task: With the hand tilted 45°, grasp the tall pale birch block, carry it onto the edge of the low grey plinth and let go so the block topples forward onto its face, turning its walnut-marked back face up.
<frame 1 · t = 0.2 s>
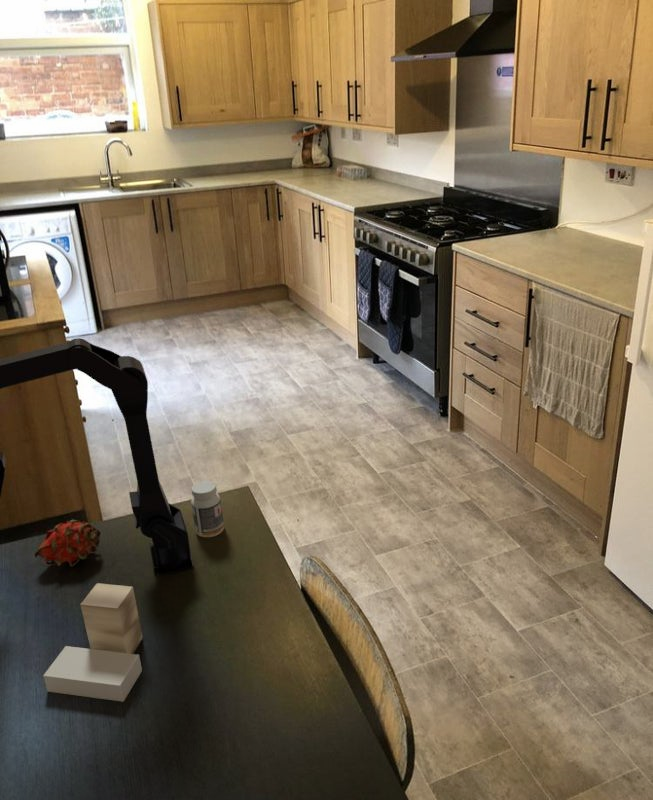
grey plinth: (95, 680, 103), on the table
birch block: (117, 647, 109), on the table
dragon fruit: (72, 561, 131), on the table
pill bottle: (210, 531, 138), on the table
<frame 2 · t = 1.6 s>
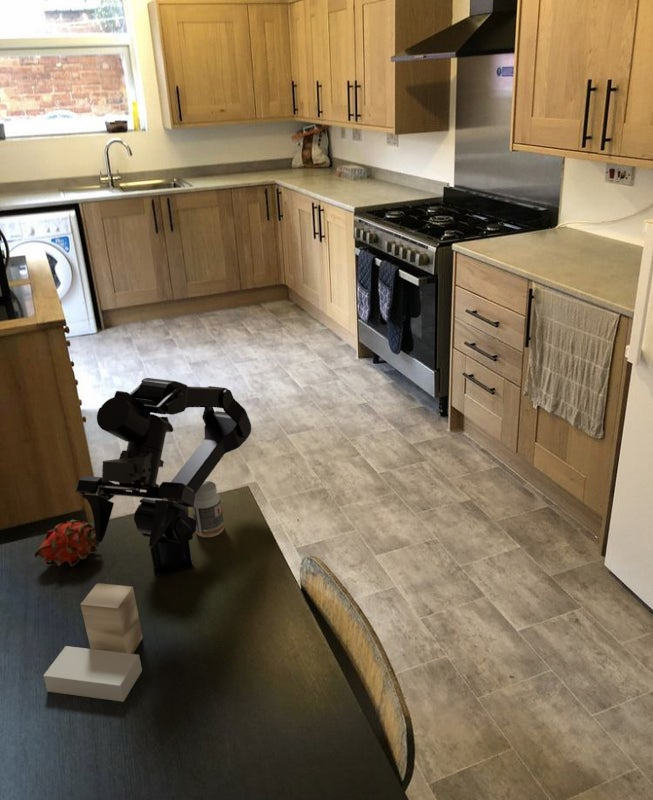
hand: (124, 544, 111), 13 cm above the table, tool tilted 45°, fingers open, 9 cm apart
nothing on the table moved.
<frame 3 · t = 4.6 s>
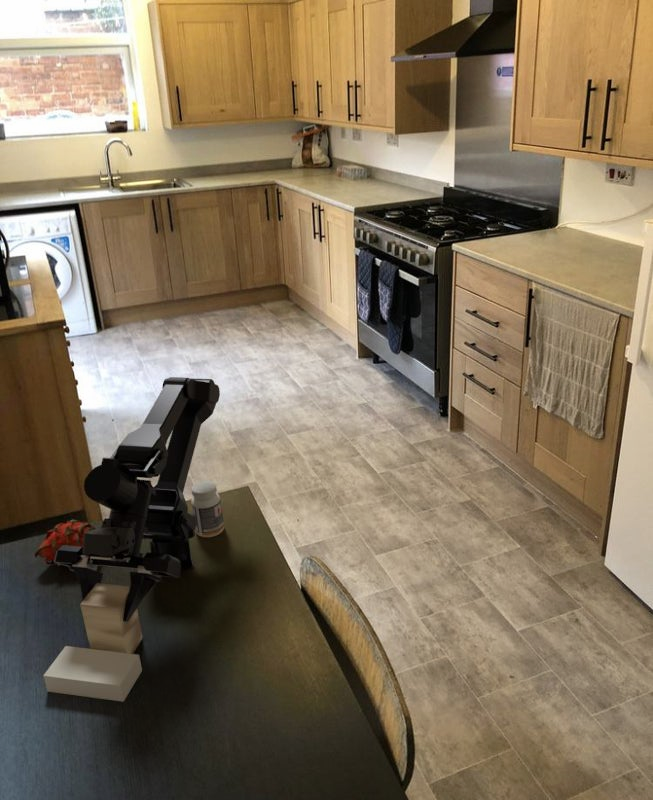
hand: (106, 619, 105), 7 cm above the table, tool tilted 45°, fingers closed on birch block, 6 cm apart
birch block: (117, 647, 109), on the table, touching gripper
everything else where it was.
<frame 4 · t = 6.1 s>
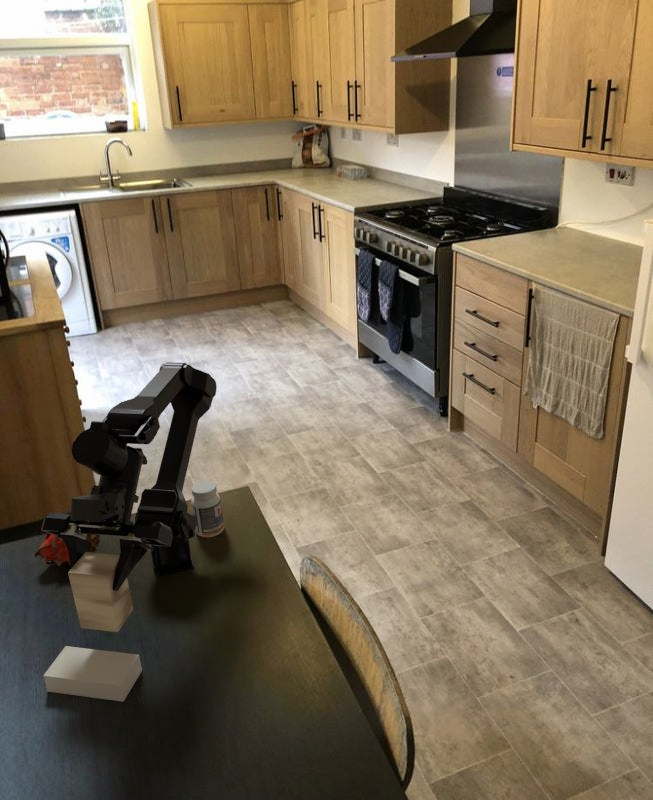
hand: (94, 588, 102), 13 cm above the table, tool tilted 45°, fingers closed on birch block, 6 cm apart
birch block: (107, 618, 106), point 6 cm above the table, touching gripper
everything else where it was.
when the fingers open (11 cm above the table, at t = 7.8 s): birch block drops 2 cm and tips over, point 2 cm above the table.
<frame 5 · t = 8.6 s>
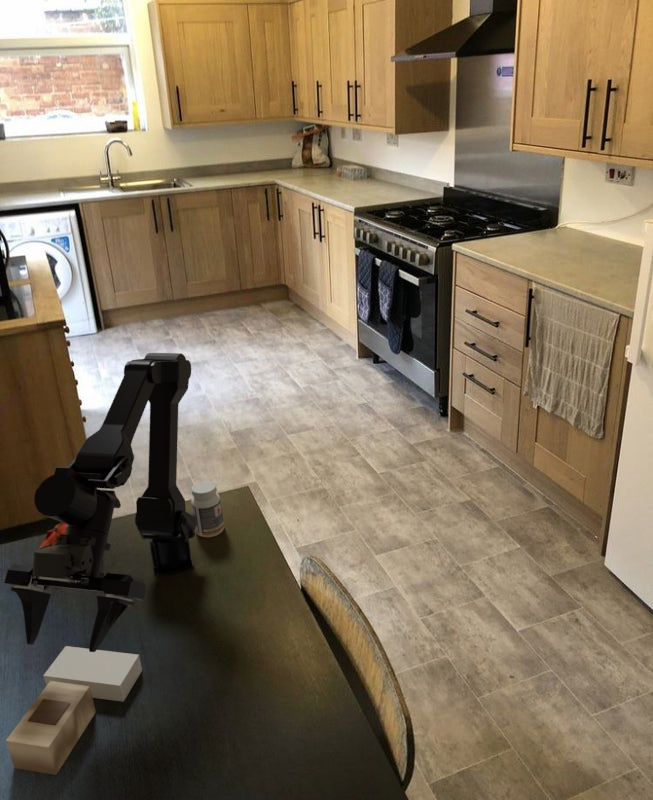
hand: (60, 648, 94), 11 cm above the table, tool tilted 45°, fingers open, 9 cm apart
birch block: (73, 697, 97), point 2 cm above the table, tilted 90°
everything else where it was.
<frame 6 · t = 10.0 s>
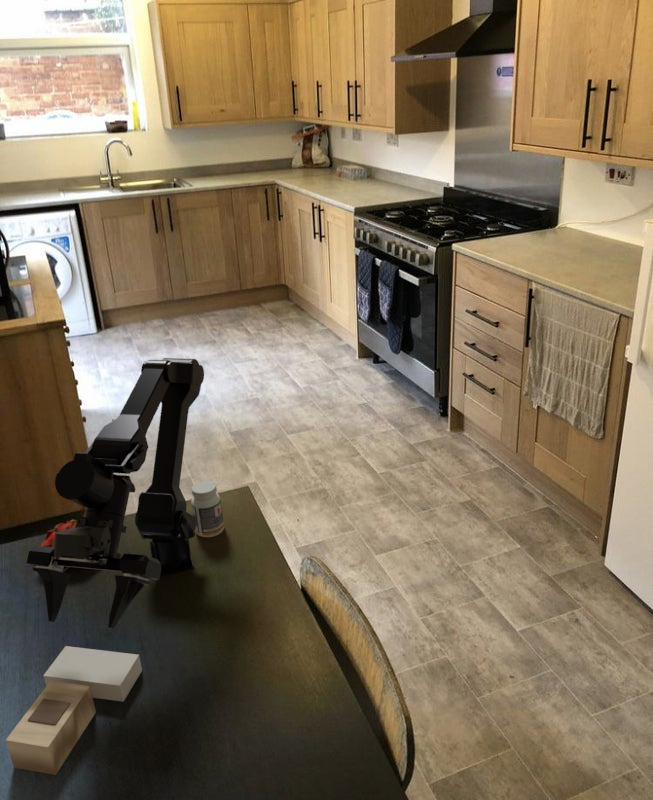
hand: (80, 625, 98), 11 cm above the table, tool tilted 45°, fingers open, 9 cm apart
nothing on the table moved.
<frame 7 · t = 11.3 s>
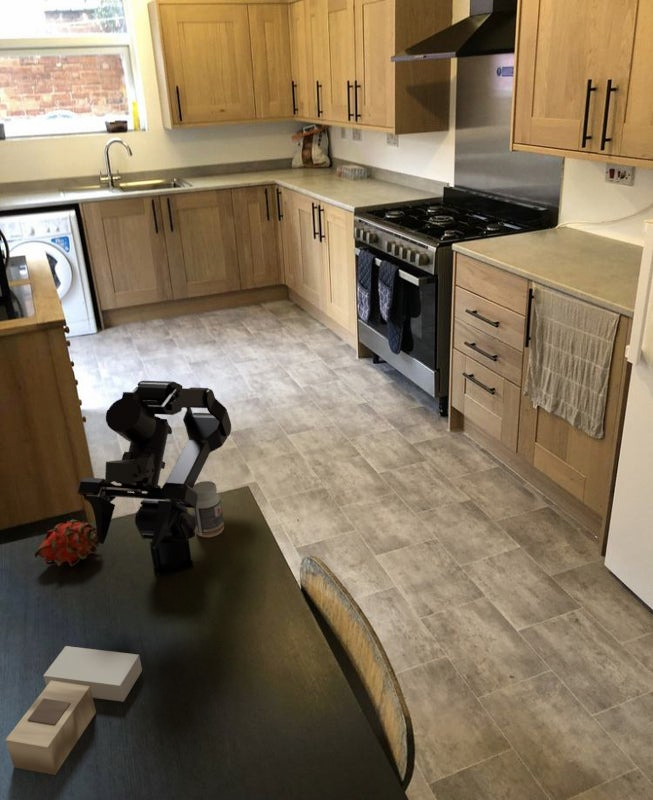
hand: (127, 545, 111), 13 cm above the table, tool tilted 45°, fingers open, 9 cm apart
nothing on the table moved.
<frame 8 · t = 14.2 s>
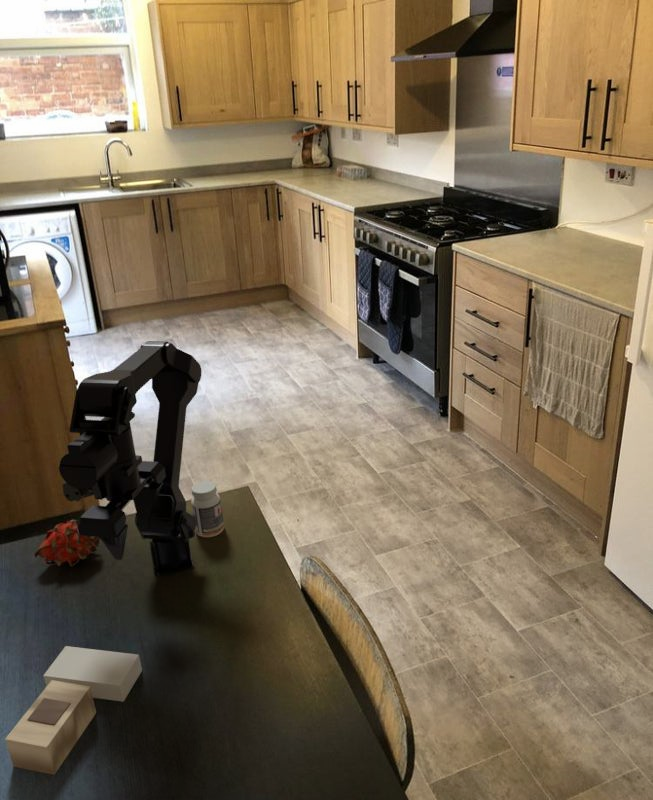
hand: (132, 542, 112), 13 cm above the table, tool pointing down, fingers open, 9 cm apart
nothing on the table moved.
at the end: birch block tilted 90°; birch block inside the target area (0.9 cm from its centre), point 2.2 cm above the table; the gripper is holding nothing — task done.
